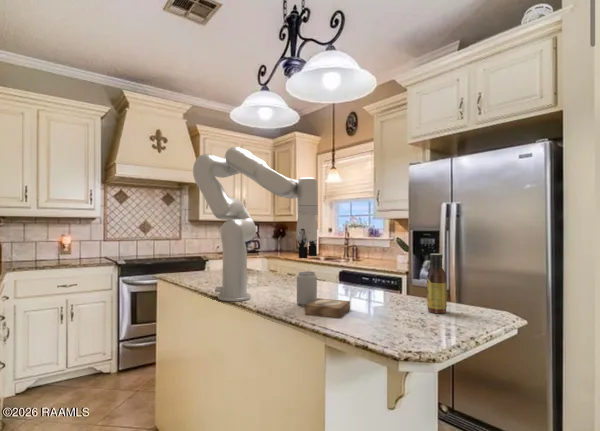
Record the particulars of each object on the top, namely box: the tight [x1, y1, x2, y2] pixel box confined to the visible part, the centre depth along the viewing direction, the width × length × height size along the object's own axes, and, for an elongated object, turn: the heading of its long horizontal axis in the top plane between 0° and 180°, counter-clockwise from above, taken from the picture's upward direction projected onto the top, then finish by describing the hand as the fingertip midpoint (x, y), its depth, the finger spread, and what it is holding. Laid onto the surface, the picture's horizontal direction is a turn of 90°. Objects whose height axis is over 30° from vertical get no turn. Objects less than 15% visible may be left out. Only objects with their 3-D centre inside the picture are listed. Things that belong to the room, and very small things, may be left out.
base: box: [304, 297, 351, 318], centre depth 125 cm, size 12×12×3 cm
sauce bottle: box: [426, 253, 448, 314], centre depth 126 cm, size 7×6×20 cm
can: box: [296, 270, 318, 307], centre depth 137 cm, size 8×8×12 cm
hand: (308, 257), depth 137 cm, fingers open, 9 cm apart
